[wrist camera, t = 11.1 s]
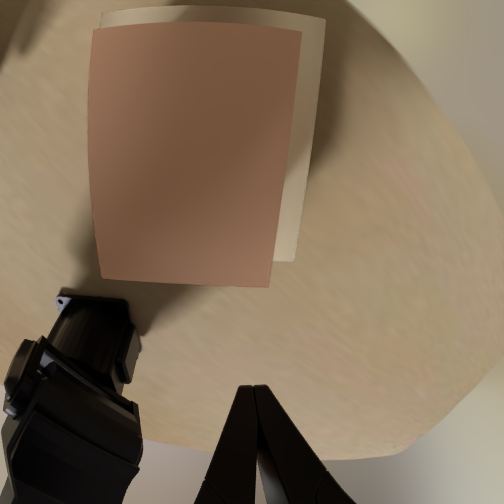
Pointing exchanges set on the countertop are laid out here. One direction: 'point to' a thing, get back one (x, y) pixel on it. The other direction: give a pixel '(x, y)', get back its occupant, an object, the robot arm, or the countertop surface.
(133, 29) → the brick
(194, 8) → the beige stepped block
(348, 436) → the countertop surface
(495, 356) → the countertop surface
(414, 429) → the countertop surface
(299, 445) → the robot arm
